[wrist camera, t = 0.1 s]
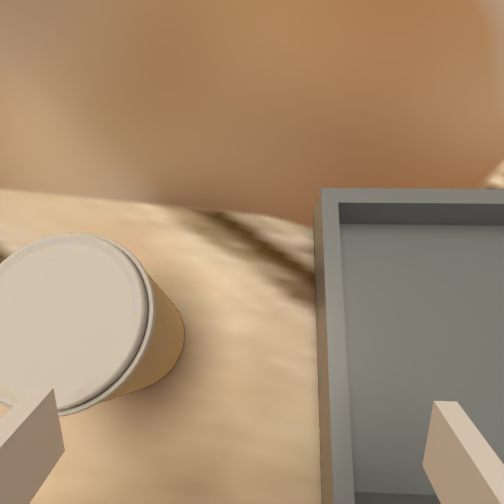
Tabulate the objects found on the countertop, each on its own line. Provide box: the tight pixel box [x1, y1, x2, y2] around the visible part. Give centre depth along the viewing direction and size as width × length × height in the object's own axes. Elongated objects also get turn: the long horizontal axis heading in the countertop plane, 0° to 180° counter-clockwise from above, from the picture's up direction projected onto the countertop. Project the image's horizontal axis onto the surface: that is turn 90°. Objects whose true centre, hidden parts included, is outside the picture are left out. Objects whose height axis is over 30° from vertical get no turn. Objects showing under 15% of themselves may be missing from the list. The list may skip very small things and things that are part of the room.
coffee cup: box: [0, 233, 185, 416], centre depth 23 cm, size 9×9×12 cm
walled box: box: [313, 188, 504, 504], centre depth 25 cm, size 22×23×5 cm
